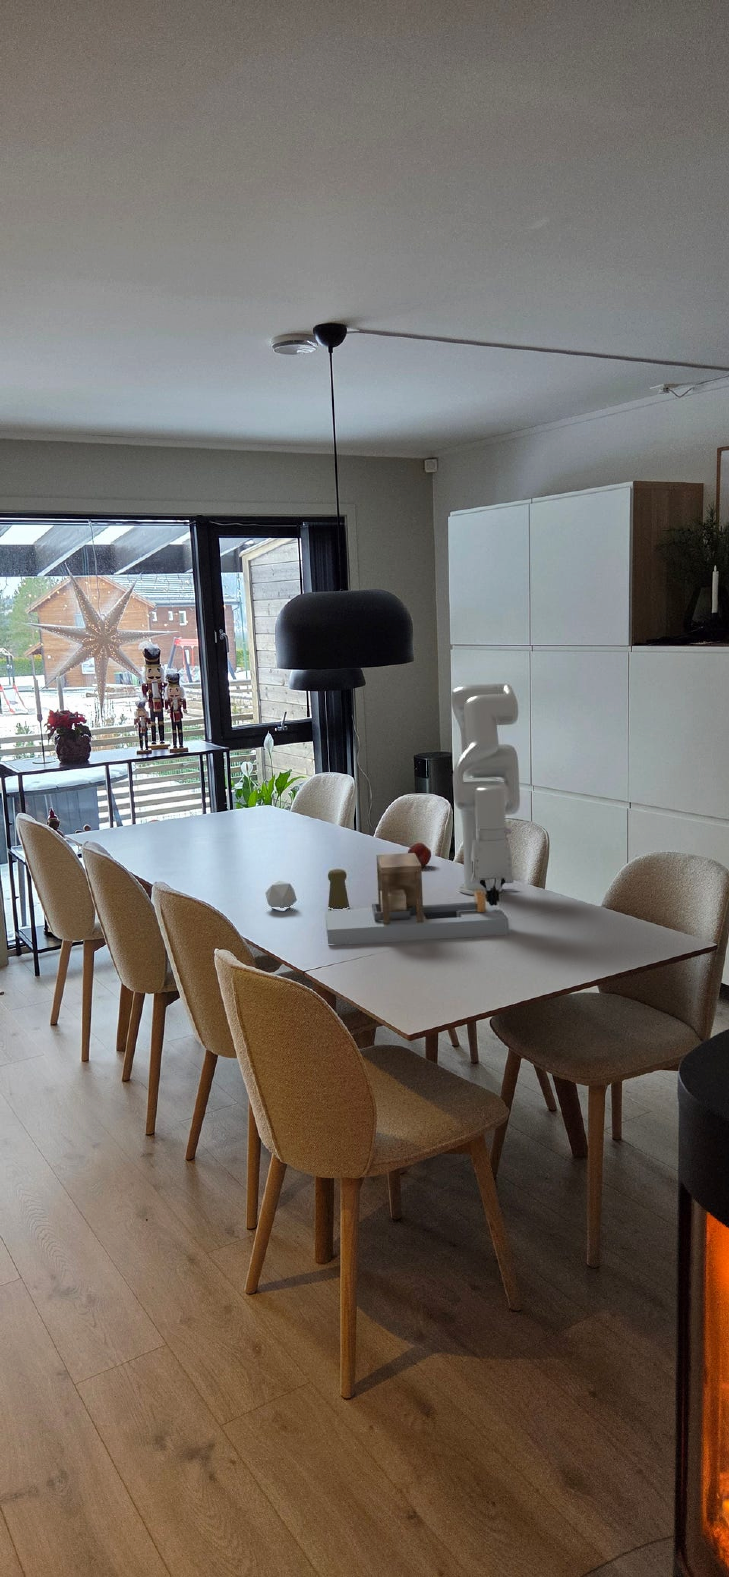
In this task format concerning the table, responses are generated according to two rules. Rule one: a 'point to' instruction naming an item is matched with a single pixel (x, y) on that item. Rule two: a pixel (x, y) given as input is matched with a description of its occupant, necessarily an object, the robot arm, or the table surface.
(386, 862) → the tunnel
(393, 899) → the block
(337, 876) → the tan pawn
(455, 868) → the table surface
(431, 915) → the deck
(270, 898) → the die
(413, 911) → the sled
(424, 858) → the apple
